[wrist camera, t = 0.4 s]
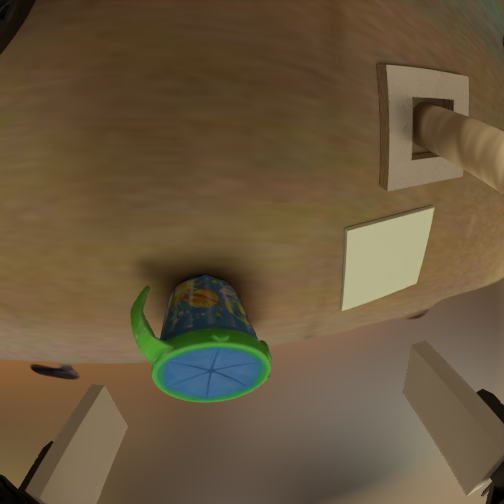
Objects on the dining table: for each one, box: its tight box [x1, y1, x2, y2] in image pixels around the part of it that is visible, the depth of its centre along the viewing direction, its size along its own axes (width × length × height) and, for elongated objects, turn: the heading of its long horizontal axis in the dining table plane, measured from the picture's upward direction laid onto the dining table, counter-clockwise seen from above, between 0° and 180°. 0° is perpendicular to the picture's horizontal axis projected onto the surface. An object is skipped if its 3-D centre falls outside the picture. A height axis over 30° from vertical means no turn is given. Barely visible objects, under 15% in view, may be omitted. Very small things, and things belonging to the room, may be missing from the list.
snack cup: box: [131, 275, 272, 402], centre depth 26 cm, size 16×11×10 cm
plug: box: [412, 103, 504, 195], centre depth 17 cm, size 5×5×14 cm
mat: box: [340, 206, 434, 311], centre depth 33 cm, size 13×13×1 cm
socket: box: [376, 64, 469, 191], centre depth 22 cm, size 13×13×2 cm
